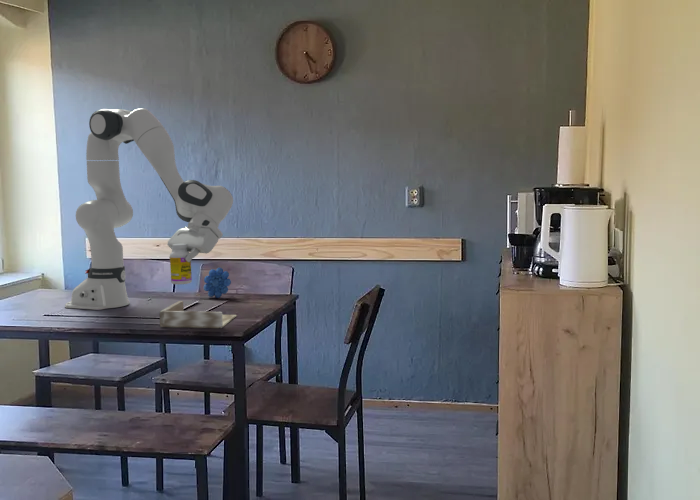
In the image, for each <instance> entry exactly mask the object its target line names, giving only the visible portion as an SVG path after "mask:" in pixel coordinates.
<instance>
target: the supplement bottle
mask: <svg viewBox="0 0 700 500" xmlns="http://www.w3.org/2000/svg"><path fill="white" fill-rule="evenodd" d="M172 248H173V252H172V251H171V253H170V254H169V257H170V258H169V263H170V264H169V267H170V282H171V283H170V284H173V285H188V284H191V283H192V280H193V277H192V262H191V261H192V260H191V261H190V262H186V261H185V260H184V257H185V256H186V255H188V254H189V253H190V252H188V251H187V244H173V245H172Z"/></svg>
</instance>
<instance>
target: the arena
mask: <svg viewBox="0 0 700 500" xmlns="http://www.w3.org/2000/svg"><path fill="white" fill-rule="evenodd" d="M236 317H237V314H223V311H205V310H204V311H200V310H197V311H194V310H193V311H192V310H191V311H190V310H188V311H187V310H184V300H178V301H176V302H175V303H172V304H170V305H169V306H166V307H165V308H164V309H162V310H160V311H159V327H160V328H180V329H181V328H183V329H185V328H187V329H188V328H189V329H190V328H191V329H222V328H224V327H225V326H226V325H228V323H230V322H231V321H232V320H234V319H235V318H236Z"/></svg>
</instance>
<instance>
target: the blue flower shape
mask: <svg viewBox="0 0 700 500" xmlns="http://www.w3.org/2000/svg"><path fill="white" fill-rule="evenodd" d="M229 276H230V273H229V272H228V270H224V269H223V268H222V267H217V268H216V269H210V270H209V271H208V275H205V276H204V278H203V281H204V285H203V290H204V291H205V292H207V296H208V297H209V298H212V297H215V298H216V299H219V298H221V297H222V295H226V294H227V293H228V291H229V287H230V285H231V284H232V280H231V279H230V278H229Z"/></svg>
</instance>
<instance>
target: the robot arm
mask: <svg viewBox="0 0 700 500" xmlns="http://www.w3.org/2000/svg"><path fill="white" fill-rule="evenodd" d="M88 125H89V127H88V128H89V130H90V133H89V134H88V135H87V142H86V153H85V155H86V157H85V159H86V160H85V161H86V175H87V176H86V177H87V178H86V179H87V183H88V184H89V186H90V187H91V188H92V189H93V191H94V194H95V197H96V199H93V200H88V201H86V202H83V203H82V204H80V205H79V206H78V207H77V209H76V211H75V220H76V223H77V224H78V226H79V227H80V228H81V229H82V230H83V231H84V233H85V235H86V238H87V240H88V243H89V247H90V258H91V259H90V260H91V261H90V262H91V267H90V268H88V269H87V270H85V273H84V274H85V275H86V274H87V278H85V279H84V280H83V281H82V282H80V283H79V284H78V285H76V287H74V289H73V290H72V291H71V298H70V299H71V300H70V301H68V302H66V303H65V306H64V307H65V308H66V309H68V308H69V309H81V310H82V309H84V310H93V311H94V310H97V311H98V310H106V309H114V308H120V307H124V306H125V307H126V306H128V305H130V300H129V297H128V292H127V288H126V283H125V282H126V268H125V265H124V251H123V250H124V247H123V244H122V243H121V242H120V241H119V240H118V239H117V238H118V237H117V236H116V232H115V229H117V228H121V227H123V226H125V225H127V224H128V223H130V222H131V220H132V219H133V217H134V210H133V206H132V205H131V204H130V202H129V201H128V200H127V199H126V196H125V193H124V191H123V188H122V183H121V179H120V175H121V174H120V161H119V160H120V158H119V148H120V145H122V143H123V144H127V145H128V144H129V143H132V142H134V143H135V144H136V145H137V147H138V148H139V150H140V151H141V153H142V154H143V156H144V157H145V158H146V160H147V161H148V162H149V164H150V165H151V166H152V167H153V169H154V170H155V172H156V173H157V175H158V176H159V178H160V179H161V181H162V183H163V185H164V186H165V189H166V190H167V191H168V193H169V195H170V196H171V198H172V200H173V202H174V206H175V212H176V215H177V216H178V218H179V219H180V220H181V221H183V222H186V223H187V226H184V227H182V228H179V229H177V230H176V231H175V232H174V234H172V236H171V237H170V238H169V240H168V241H167V246H168V247H169V249H171V253H172V252H173V248H172V245H173V244H187V251H188V252H189V254H188V255H186V256H185V257H184V260H185V261H186V262H190V261H192V260H193V259H194V258H196V257H197V256H198V255H199V254H205V255H206V254H209V253H210V252H212V250H213V249H214V248H215V246H216V245H217V243H218V242H219V239H221V238H222V237H223V235H224V233H223V232H222V231H221V230H220V229H219V226H220V223H221V222H222V221H224V220H225V218H226V217H227V215H228V213H230V210H231V209H232V207H233V204H234V198H233V195H232V193H231V192H230V190H228V188H226V187H224V186H222V185H210V184H209V185H208V184H205V183H201V182H200V181H198V180H195V179H188V180H185V181H184V180H183V178H182V176H181V175H180V173H179V171H178V167H177V163H176V157H175V154H176V153H175V146H174V145H175V144H174V143H173V140H172V138H171V136H170V135H169V133H168V131H167V129H166V128H165V127H164V125H163V124H162V122H161V121H159V119H158V118H157V116H155V115H154V114H153V113H152V112H151V111H150V110H148V109H147V108H136V109H134V110H127V109H121V108H114V109H108V108H102V109H98V110H95V111H93V113H92V114H91V115H90V118H89V123H88ZM168 257H169V259H170V256H168Z"/></svg>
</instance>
